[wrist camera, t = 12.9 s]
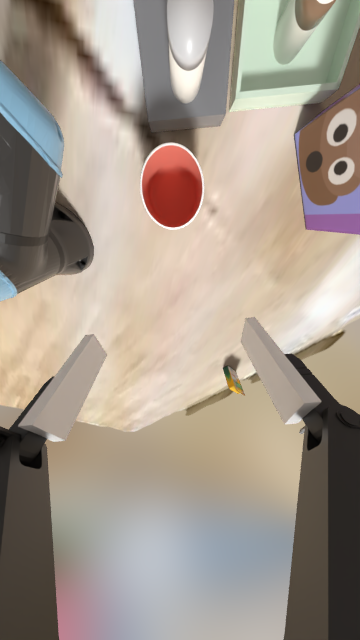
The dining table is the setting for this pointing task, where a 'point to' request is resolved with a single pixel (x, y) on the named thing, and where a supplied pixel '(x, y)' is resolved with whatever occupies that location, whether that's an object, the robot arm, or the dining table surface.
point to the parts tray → (303, 71)
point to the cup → (172, 185)
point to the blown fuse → (297, 27)
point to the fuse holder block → (184, 61)
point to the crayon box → (233, 380)
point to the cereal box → (331, 167)
